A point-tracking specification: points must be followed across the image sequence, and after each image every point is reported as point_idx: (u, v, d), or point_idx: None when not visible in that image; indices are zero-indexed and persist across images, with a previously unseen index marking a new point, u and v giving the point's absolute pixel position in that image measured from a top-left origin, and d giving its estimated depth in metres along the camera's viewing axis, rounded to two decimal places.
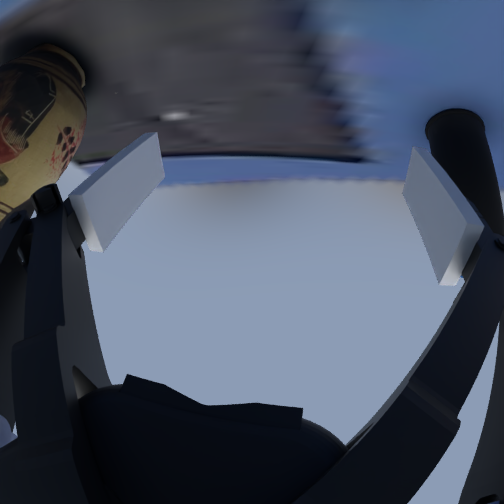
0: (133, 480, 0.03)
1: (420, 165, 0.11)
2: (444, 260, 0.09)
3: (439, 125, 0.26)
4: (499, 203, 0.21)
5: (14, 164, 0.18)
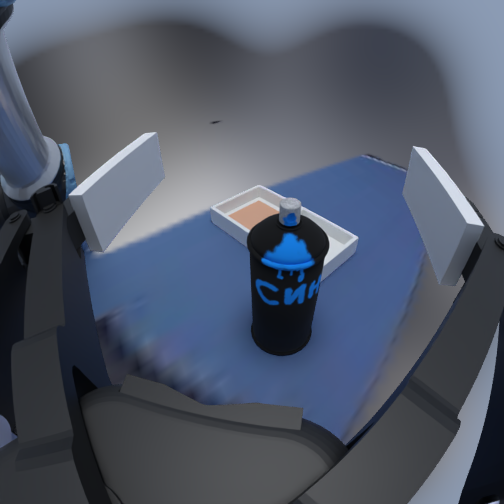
0: (134, 480, 0.03)
1: (420, 165, 0.11)
2: (444, 260, 0.09)
3: (254, 330, 0.38)
4: None
5: None
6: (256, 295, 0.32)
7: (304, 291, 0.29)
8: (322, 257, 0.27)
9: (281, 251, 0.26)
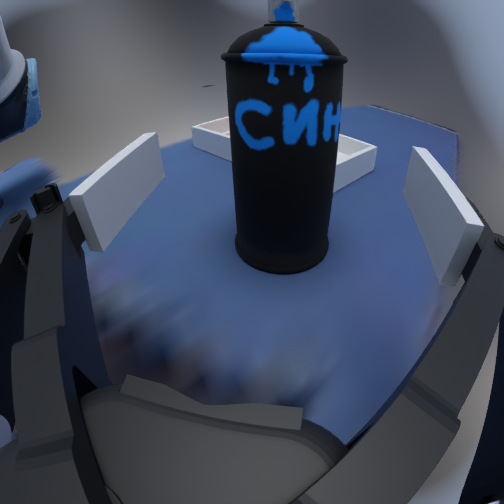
0: (133, 480, 0.03)
1: (420, 165, 0.11)
2: (444, 260, 0.09)
3: (238, 236, 0.25)
4: None
5: None
6: (237, 143, 0.18)
7: (316, 117, 0.16)
8: (339, 57, 0.14)
9: (272, 38, 0.13)
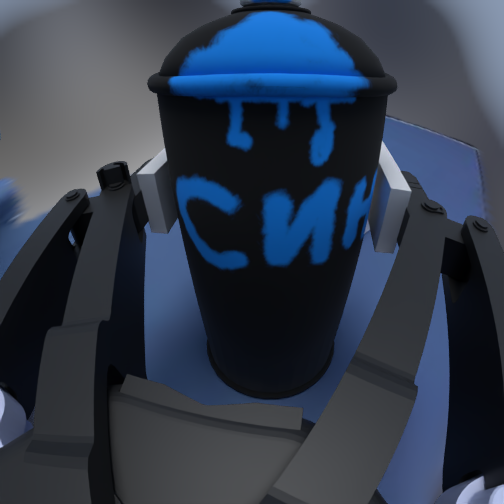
0: (133, 479, 0.03)
1: None
2: (378, 227, 0.10)
3: None
4: None
5: None
6: (188, 245, 0.11)
7: (333, 214, 0.08)
8: (388, 83, 0.06)
9: (239, 36, 0.06)
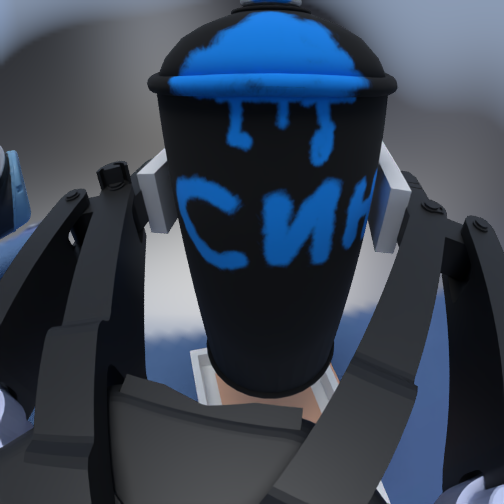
0: (134, 480, 0.03)
1: None
2: (378, 227, 0.10)
3: None
4: None
5: None
6: (188, 245, 0.11)
7: (333, 214, 0.08)
8: (389, 83, 0.06)
9: (239, 36, 0.06)
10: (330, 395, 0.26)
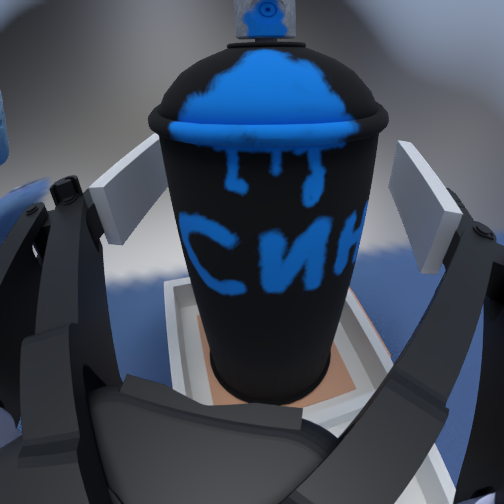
0: (133, 480, 0.03)
1: (403, 158, 0.12)
2: (424, 248, 0.09)
3: None
4: None
5: None
6: (190, 270, 0.12)
7: (325, 247, 0.09)
8: (379, 122, 0.07)
9: (234, 83, 0.06)
10: (358, 341, 0.19)
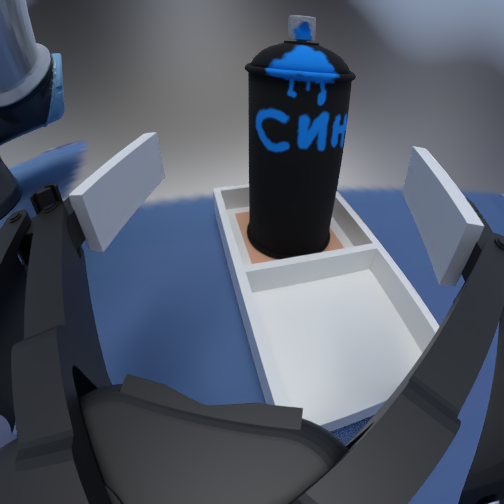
0: (133, 480, 0.03)
1: (420, 165, 0.11)
2: (444, 260, 0.09)
3: (250, 226, 0.27)
4: None
5: None
6: (256, 145, 0.21)
7: (326, 127, 0.19)
8: (349, 76, 0.17)
9: (293, 56, 0.16)
10: (348, 227, 0.28)
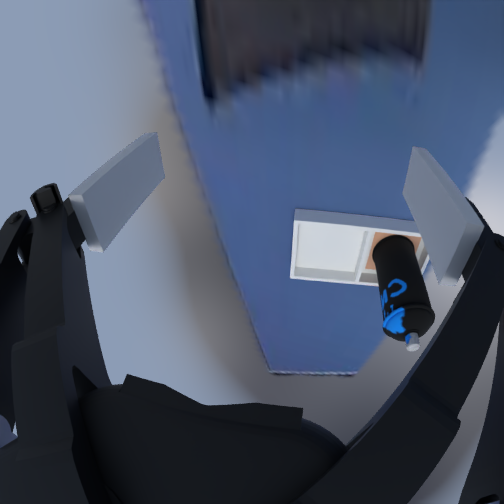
0: (133, 480, 0.03)
1: (420, 165, 0.11)
2: (444, 260, 0.09)
3: (400, 241, 0.46)
4: None
5: None
6: (403, 276, 0.40)
7: (382, 304, 0.41)
8: (384, 331, 0.40)
9: (397, 321, 0.36)
10: None
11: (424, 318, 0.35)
